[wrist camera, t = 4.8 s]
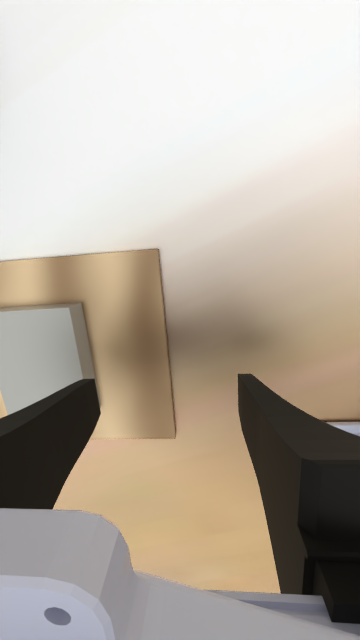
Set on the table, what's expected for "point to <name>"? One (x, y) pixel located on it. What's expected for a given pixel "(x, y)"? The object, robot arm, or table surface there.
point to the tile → (42, 352)
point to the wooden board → (109, 332)
